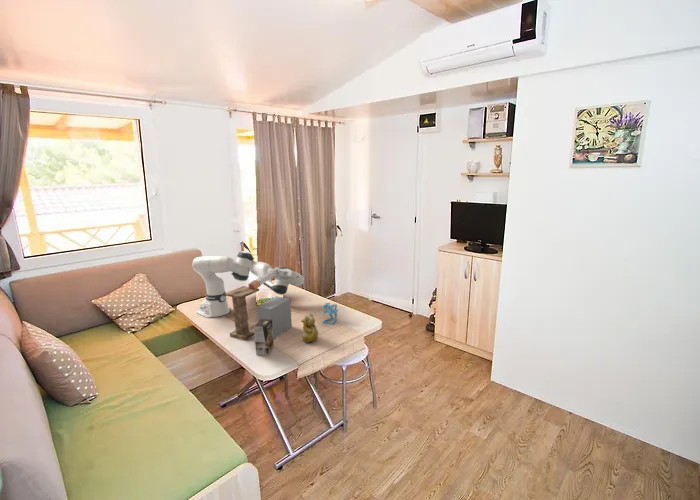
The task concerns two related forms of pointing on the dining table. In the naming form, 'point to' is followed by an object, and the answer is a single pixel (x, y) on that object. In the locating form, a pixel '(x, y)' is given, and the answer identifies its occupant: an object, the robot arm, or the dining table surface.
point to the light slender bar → (263, 278)
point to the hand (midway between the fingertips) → (274, 270)
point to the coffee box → (264, 337)
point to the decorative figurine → (309, 329)
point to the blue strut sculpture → (330, 312)
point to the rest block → (276, 314)
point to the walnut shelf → (241, 313)
